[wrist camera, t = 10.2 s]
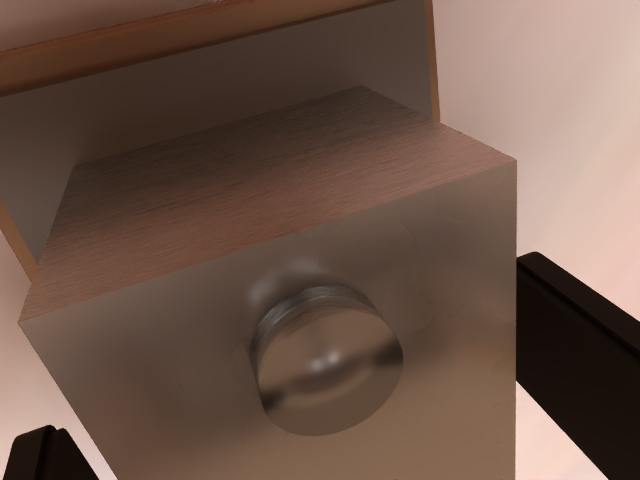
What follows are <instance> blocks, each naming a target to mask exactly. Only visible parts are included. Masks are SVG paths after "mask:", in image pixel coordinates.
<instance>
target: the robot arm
mask: <svg viewBox="0 0 640 480" xmlns="http://www.w3.org/2000/svg"><path fill="white" fill-rule="evenodd" d="M516 381H517V382H518V383H519V384H520V385H521V386H522V387H523V388H524V389H525V390H526V391H527V393H528V394H529V395H530V396H531V397H532V398H533V399H534V400H535V401H536V402H537V403H538V404H539V405H540V406H541V408H542V409H543V410H544V411H545V412H546V413H547V414H548V415H549V416H550V417H551V418H552V419H553V420H554V422H555V423H556V424H557V425H558V426H559V427H560V428H561V429H562V430H563V431H564V432H565V433H566V434H567V435H568V437H569V438H570V439H571V440H572V441H573V442H574V443H575V444H576V445H577V446H578V447H579V448H580V449H581V450H582V452H583V453H584V454H585V455H586V456H587V457H588V458H589V459H590V460H591V461H592V462H593V463H594V464H595V465H596V467H597V468H598V469H599V470H600V471H601V472H602V473H603V474H604V475H605V476H606V477H607V478H608V479H609V480H640V322H639V321H638V320H636V319H635V318H634V317H632V316H631V315H629V314H628V313H626V312H625V311H623V310H622V309H620V308H619V307H618V306H616V305H615V304H613V303H612V302H610V301H609V300H607V299H606V298H605V297H603V296H602V295H600V294H599V293H597V292H596V291H594V290H593V289H591V288H590V287H589V286H587V285H586V284H584V283H583V282H581V281H580V280H578V279H577V278H576V277H574V276H573V275H571V274H570V273H568V272H567V271H565V270H564V269H563V268H561V267H560V266H558V265H557V264H555V263H554V262H552V261H551V260H549V259H548V258H547V257H545V256H544V255H542V254H541V253H539V252H531V253H528V254H525V255H523V256H520V257H517V258H516ZM3 480H99V479H98V477H97V476H96V474H95V472H94V471H93V469H92V468H91V466H90V465H89V463H88V462H87V460H86V459H85V457H84V456H83V454H82V453H81V451H80V450H79V448H78V447H77V445H76V443H75V442H74V440H73V439H72V437H71V436H70V434H69V433H68V431H67V430H66V429H64V428H62V429H59V430H56V428H55V427H54V426H52V425H47V426H44V427H41V428H38V429H36V430H33V431H30V432H27V433H24V434H22V435H19V436H17V437H16V438H15V439H14V442H13V444H12V448H11V452H10V455H9V459H8V463H7V466H6V470H5V474H4V477H3Z"/></svg>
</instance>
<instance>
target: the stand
mask: <svg viewBox="0 0 640 480" xmlns="http://www.w3.org/2000/svg"><path fill="white" fill-rule="evenodd" d="M360 85H364V86H366V87H368V88H370V89H372V90H374V91H376V92H378V93H380V94H382V95H384V96H386V97H388V98H391V99H393V100H395V101H397V102H399V103H401V104H403V105H405V106H407V107H409V108H411V109H413V110H415V111H417V112H419V113H421V114H424V115H426V116H428V117H430V118H432V119H434V120H436V121H438V122H440V110H439V95H438V80H437V65H436V50H435V35H434V21H433V6H432V0H226V1H221V2H217V3H213V4H208V5H204V6H200V7H195V8H191V9H187V10H182V11H178V12H174V13H169V14H165V15H161V16H156V17H152V18H148V19H143V20H139V21H135V22H130V23H126V24H122V25H117V26H113V27H109V28H104V29H100V30H96V31H91V32H87V33H83V34H78V35H74V36H70V37H65V38H61V39H56V40H52V41H48V42H43V43H39V44H35V45H30V46H26V47H22V48H17V49H13V50H9V51H4V52H0V229H1V230H2V232H3V234H4V236H5V237H6V239H7V241H8V243H9V244H10V246H11V248H12V249H13V251H14V253H15V255H16V256H17V258H18V260H19V262H20V263H21V265H22V267H23V268H24V270H25V272H26V274H27V275H28V277H29V279H30V281H31V282H32V281H33V278H34V275H35V273H36V270H37V267H38V264H39V261H40V258H41V256H42V253H43V250H44V247H45V244H46V241H47V239H48V236H49V233H50V230H51V227H52V225H53V222H54V219H55V216H56V213H57V210H58V208H59V205H60V202H61V199H62V196H63V193H64V191H65V188H66V185H67V182H68V179H69V177H70V174H71V171H72V168H73V166H76V165H79V164H83V163H87V162H90V161H94V160H97V159H101V158H104V157H108V156H111V155H115V154H119V153H122V152H126V151H129V150H133V149H136V148H140V147H143V146H147V145H150V144H154V143H158V142H161V141H165V140H168V139H172V138H175V137H179V136H182V135H186V134H190V133H193V132H197V131H200V130H204V129H207V128H211V127H214V126H218V125H222V124H225V123H229V122H232V121H236V120H239V119H243V118H246V117H250V116H253V115H257V114H261V113H264V112H268V111H271V110H275V109H278V108H282V107H285V106H289V105H293V104H296V103H300V102H303V101H307V100H310V99H314V98H317V97H321V96H325V95H328V94H332V93H335V92H339V91H342V90H346V89H349V88H353V87H357V86H360Z"/></svg>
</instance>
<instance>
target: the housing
mask: <svg viewBox="0 0 640 480" xmlns="http://www.w3.org/2000/svg"><path fill="white" fill-rule="evenodd" d="M516 222H517V160H516V159H514V158H512V157H510V156H508V155H506V154H504V153H502V152H500V151H498V150H496V149H494V148H492V147H490V146H487V145H485V144H483V143H481V142H479V141H477V140H475V139H473V138H471V137H469V136H467V135H465V134H463V133H461V132H459V131H457V130H454V129H452V128H450V127H448V126H446V125H444V124H442V123H440V122H438V121H436V120H434V119H432V118H430V117H428V116H426V115H424V114H421V113H419V112H417V111H415V110H413V109H411V108H409V107H407V106H405V105H403V104H401V103H399V102H397V101H395V100H393V99H391V98H388V97H386V96H384V95H382V94H380V93H378V92H376V91H374V90H372V89H370V88H368V87H366V86H364V85H360V86H357V87H353V88H349V89H346V90H342V91H339V92H335V93H332V94H328V95H325V96H321V97H317V98H314V99H310V100H307V101H303V102H300V103H296V104H293V105H289V106H285V107H282V108H278V109H275V110H271V111H268V112H264V113H261V114H257V115H253V116H250V117H246V118H243V119H239V120H236V121H232V122H229V123H225V124H222V125H218V126H214V127H211V128H207V129H204V130H200V131H197V132H193V133H190V134H186V135H182V136H179V137H175V138H172V139H168V140H165V141H161V142H158V143H154V144H150V145H147V146H143V147H140V148H136V149H133V150H129V151H126V152H122V153H119V154H115V155H111V156H108V157H104V158H101V159H97V160H94V161H90V162H87V163H83V164H79V165H76V166H73V168H72V171H71V174H70V177H69V179H68V182H67V185H66V188H65V191H64V193H63V196H62V199H61V202H60V205H59V208H58V210H57V213H56V216H55V219H54V222H53V225H52V227H51V230H50V233H49V236H48V239H47V241H46V244H45V247H44V250H43V253H42V256H41V258H40V261H39V264H38V267H37V270H36V273H35V275H34V278H33V281H32V284H31V287H30V289H29V292H28V295H27V298H26V301H25V304H24V306H23V309H22V312H21V315H20V318H19V320H18V324H19V326H20V327H21V329H22V330H23V332H24V334H25V335H26V337H27V338H28V340H29V341H30V343H31V345H32V346H33V348H34V349H35V351H36V352H37V354H38V355H39V357H40V359H41V360H42V362H43V363H44V365H45V366H46V368H47V370H48V371H49V373H50V374H51V376H52V377H53V379H54V380H55V382H56V384H57V385H58V387H59V388H60V390H61V391H62V393H63V395H64V396H65V398H66V399H67V401H68V402H69V404H70V405H71V407H72V409H73V410H74V412H75V413H76V415H77V416H78V418H79V420H80V421H81V423H82V424H83V426H84V427H85V429H86V430H87V432H88V434H89V435H90V437H91V438H92V440H93V441H94V443H95V445H96V446H97V448H98V449H99V451H100V452H101V454H102V455H103V457H104V459H105V460H106V462H107V463H108V465H109V466H110V468H111V470H112V471H113V473H114V474H115V476H116V477H117V479H118V480H515V423H516Z"/></svg>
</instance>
